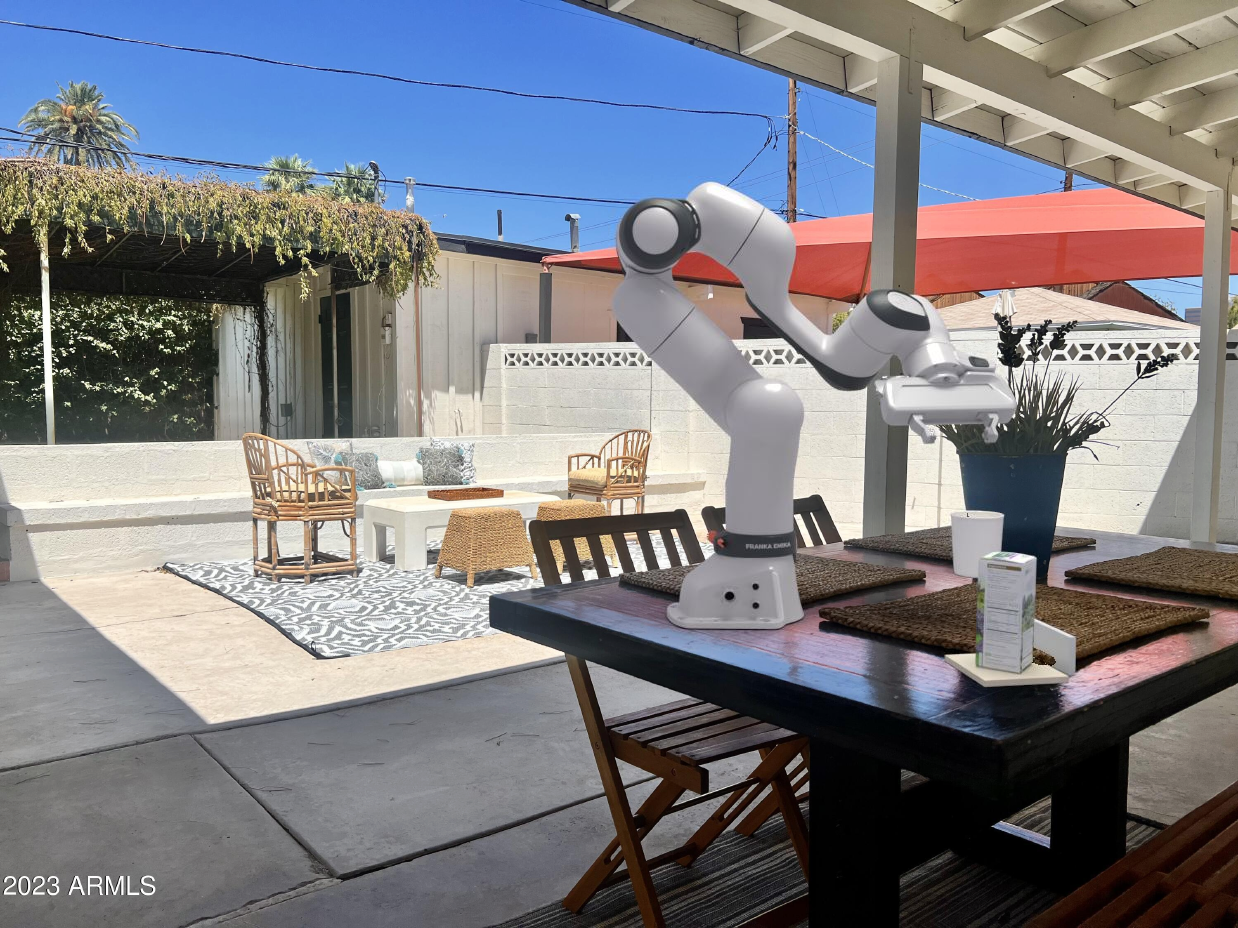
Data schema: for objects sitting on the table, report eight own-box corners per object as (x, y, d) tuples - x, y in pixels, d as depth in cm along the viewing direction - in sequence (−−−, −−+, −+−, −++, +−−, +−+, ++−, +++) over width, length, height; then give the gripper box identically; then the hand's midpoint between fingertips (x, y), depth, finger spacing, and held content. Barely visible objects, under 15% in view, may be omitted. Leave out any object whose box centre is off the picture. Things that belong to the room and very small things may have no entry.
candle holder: (955, 567, 186) (955, 509, 185) (1006, 571, 181) (1007, 512, 180) (945, 576, 178) (946, 515, 177) (999, 580, 173) (1000, 518, 172)
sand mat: (984, 686, 113) (984, 680, 112) (944, 660, 123) (944, 654, 123) (1068, 682, 114) (1068, 676, 113) (1021, 656, 124) (1021, 651, 124)
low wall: (1069, 675, 116) (1069, 637, 116) (1004, 641, 132) (1005, 607, 132) (1075, 675, 116) (1075, 637, 116) (1010, 641, 132) (1010, 607, 132)
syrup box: (988, 656, 122) (990, 550, 121) (1035, 663, 119) (1037, 554, 118) (974, 666, 118) (976, 556, 117) (1022, 674, 114) (1024, 561, 113)
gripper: (876, 362, 141) (898, 427, 132) (1003, 360, 142) (1034, 424, 133) (866, 391, 146) (887, 455, 137) (989, 388, 147) (1019, 452, 138)
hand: (961, 440), depth 135 cm, fingers open, 8 cm apart
